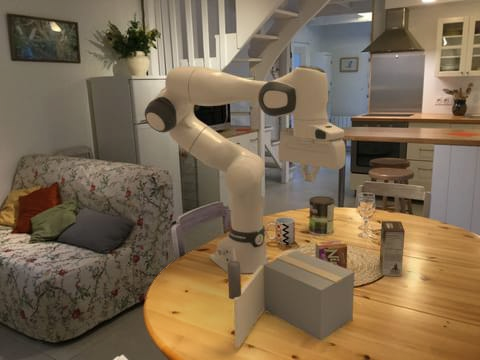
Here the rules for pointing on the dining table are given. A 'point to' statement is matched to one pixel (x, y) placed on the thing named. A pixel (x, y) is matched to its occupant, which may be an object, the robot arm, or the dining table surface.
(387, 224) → the coffee box
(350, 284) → the carton
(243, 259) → the robot arm
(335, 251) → the candy box
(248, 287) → the flap
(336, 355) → the dining table surface
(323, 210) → the coffee can
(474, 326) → the dining table surface
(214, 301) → the dining table surface
